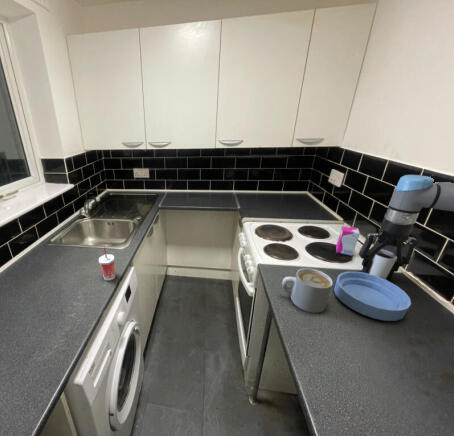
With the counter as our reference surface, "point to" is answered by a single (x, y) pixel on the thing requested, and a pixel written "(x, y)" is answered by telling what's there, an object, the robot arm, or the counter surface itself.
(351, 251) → the supplement box
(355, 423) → the counter surface
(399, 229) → the robot arm
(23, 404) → the counter surface
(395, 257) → the white cup
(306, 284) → the coffee mug
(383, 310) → the bowl
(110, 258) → the beverage cup
